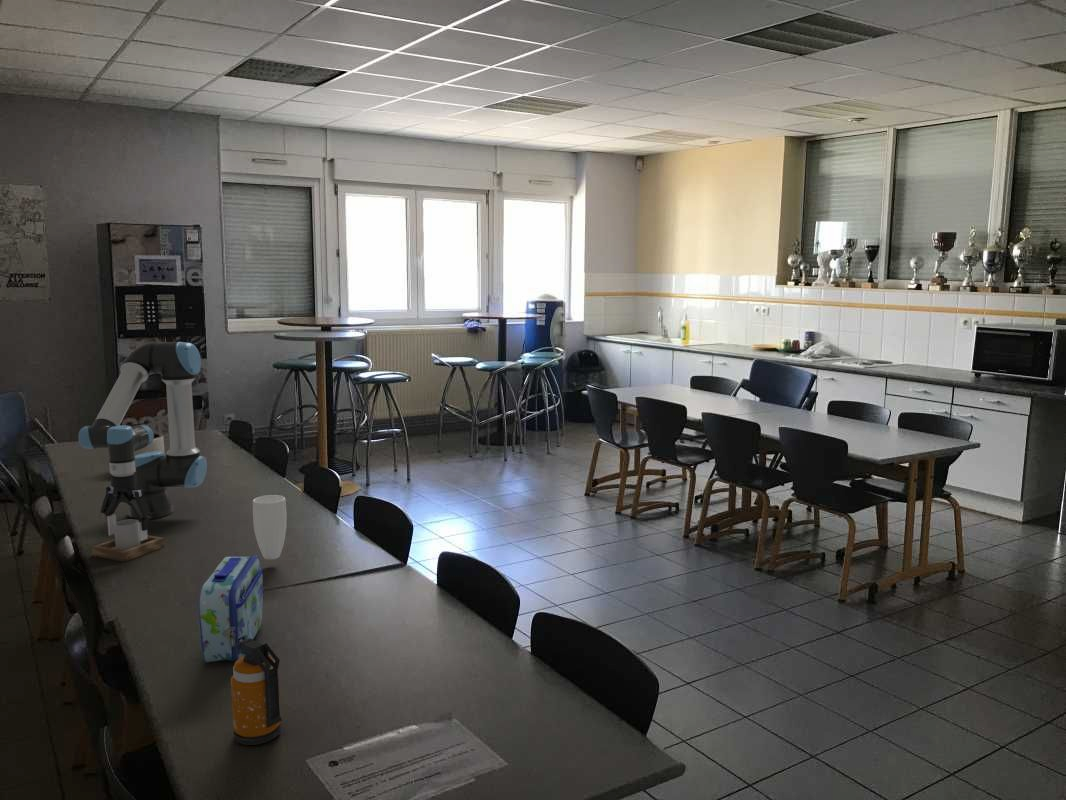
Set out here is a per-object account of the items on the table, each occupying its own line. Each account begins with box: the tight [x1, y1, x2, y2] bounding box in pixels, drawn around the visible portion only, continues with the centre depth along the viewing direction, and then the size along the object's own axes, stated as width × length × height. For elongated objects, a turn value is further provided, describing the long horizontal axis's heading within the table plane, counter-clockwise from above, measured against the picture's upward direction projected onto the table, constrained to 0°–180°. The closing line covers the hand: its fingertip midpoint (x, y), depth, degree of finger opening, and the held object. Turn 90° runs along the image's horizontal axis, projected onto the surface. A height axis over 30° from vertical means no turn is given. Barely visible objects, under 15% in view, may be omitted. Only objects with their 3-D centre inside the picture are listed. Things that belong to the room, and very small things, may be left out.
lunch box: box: [198, 554, 264, 663], centre depth 208 cm, size 26×11×21 cm, turn 5°
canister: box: [230, 638, 283, 746], centre depth 168 cm, size 9×11×20 cm
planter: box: [134, 432, 166, 456], centre depth 384 cm, size 18×18×16 cm
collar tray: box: [91, 534, 165, 563], centre depth 277 cm, size 16×14×3 cm
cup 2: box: [252, 494, 288, 560], centre depth 263 cm, size 10×10×22 cm
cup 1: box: [114, 518, 140, 551], centre depth 277 cm, size 7×10×9 cm
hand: (128, 537), depth 277 cm, fingers open, 13 cm apart
